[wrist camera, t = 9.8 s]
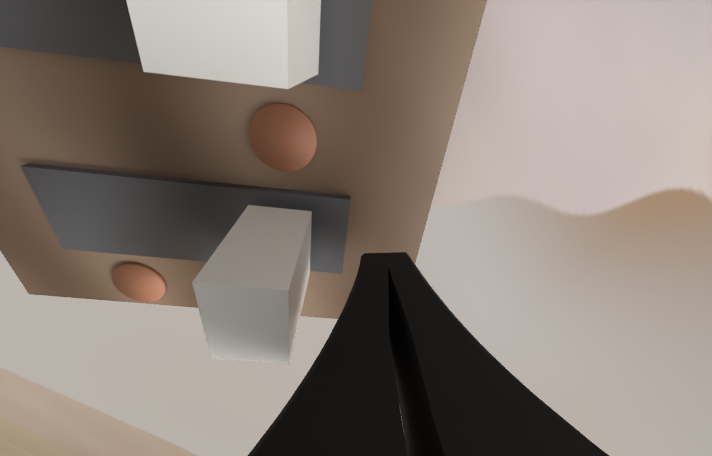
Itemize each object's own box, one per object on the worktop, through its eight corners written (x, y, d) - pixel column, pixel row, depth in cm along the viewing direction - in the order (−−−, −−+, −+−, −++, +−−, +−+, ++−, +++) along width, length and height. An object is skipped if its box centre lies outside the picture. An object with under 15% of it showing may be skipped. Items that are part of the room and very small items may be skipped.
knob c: (311, 211, 9) (288, 290, 6) (309, 273, 11) (289, 363, 7) (248, 204, 9) (192, 282, 6) (254, 268, 10) (210, 358, 7)
